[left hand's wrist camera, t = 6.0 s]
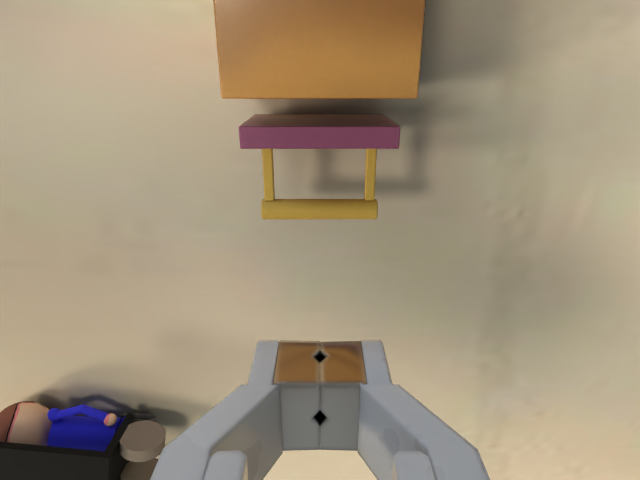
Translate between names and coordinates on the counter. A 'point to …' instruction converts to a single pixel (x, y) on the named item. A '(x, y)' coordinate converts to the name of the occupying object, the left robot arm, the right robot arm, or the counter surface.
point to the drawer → (319, 135)
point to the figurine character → (77, 444)
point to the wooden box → (319, 48)
